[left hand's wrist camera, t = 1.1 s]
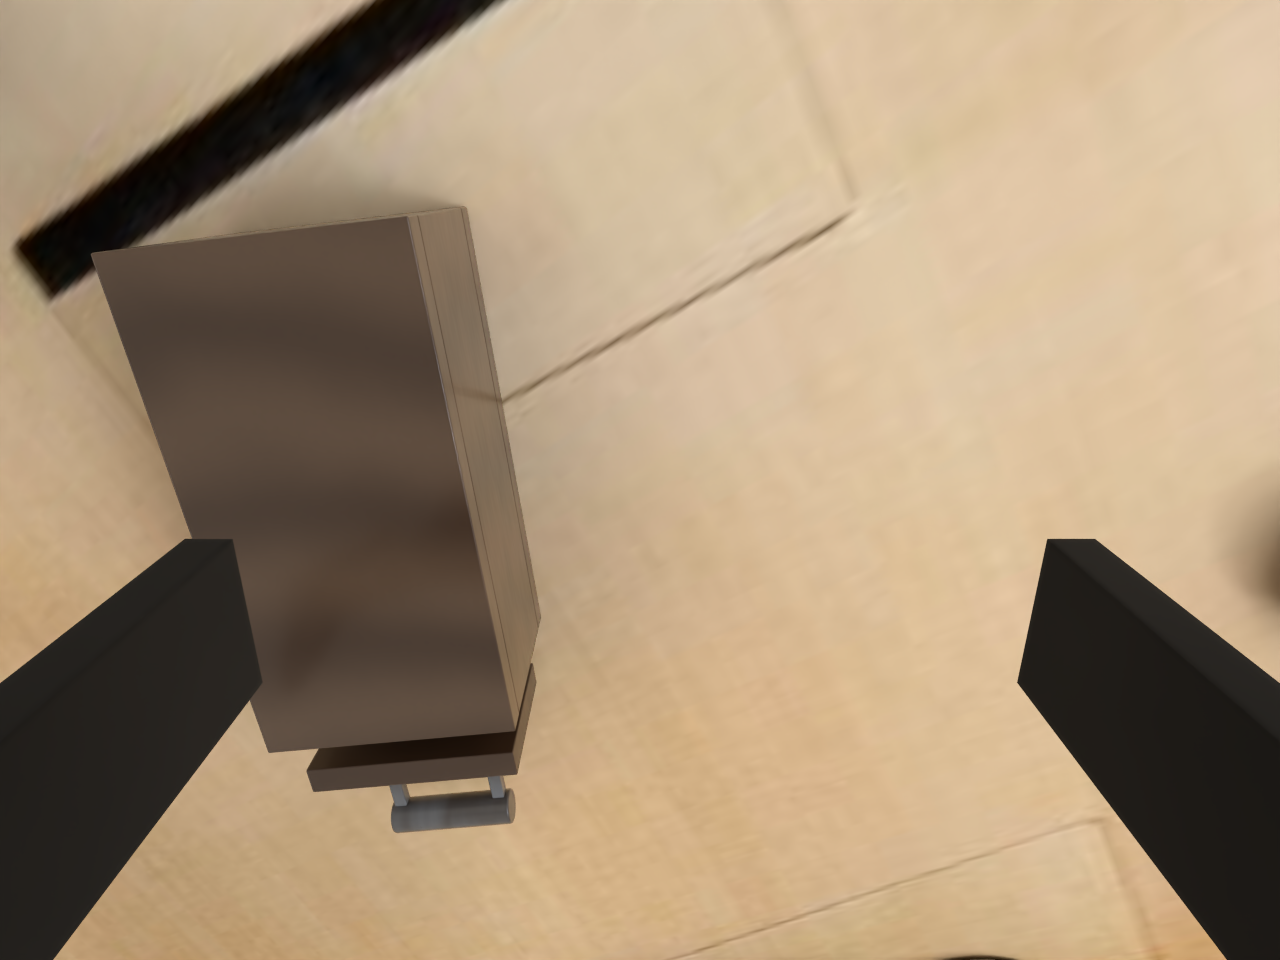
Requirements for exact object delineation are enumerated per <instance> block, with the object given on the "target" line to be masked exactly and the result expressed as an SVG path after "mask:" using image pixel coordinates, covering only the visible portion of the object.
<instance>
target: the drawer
mask: <svg viewBox="0 0 1280 960" xmlns="http://www.w3.org/2000/svg"><path fill="white" fill-rule="evenodd" d="M535 686H536V678H535V673H534V667H533V664H532V663H530V667H529V671H528V676H527V680H526V685H525V689H524V693H523V698H522V702H521V706H520V711H519V716H518V721H517V725H516V729H515V731H510V732H499V733H487V734H476V735H465V736H454V737H442V738H431V739H420V740H408V741H397V742H386V743H375V744H363V745H352V746H341V747H329V748H319V749H318V751H317V753H316V755H315V756H314V758H313V760H312V762H311V763H310V765H309V767H308V769H307V774H308V777H309V780H310V783H311V786H312V789H313V792H319V791H331V790H342V789H354V788H366V787H377V786H390V790H391V793H392V796H393V800H394V803H393V807H392V812H391V824H392V828H393V831H394V832H396V833H404V832H416V831H428V830H440V829H452V828H464V827H476V826H488V825H500V824H511V823H513V821H514V817H515V795H514V792H513V790H512V789H510V788H509V789H506V787H505V782H504V778H503V776H505V775H516V774H517V773H518V768H519V763H520V758H521V754H522V749H523V744H524V739H525V734H526V730H527V725H528V720H529V715H530V710H531V706H532V701H533V696H534V691H535ZM482 777H488V781H489V785H490V789H491V790H486V791H474V792H462V793H450V794H439V795H427V796H415V797H410V796H409V792H408V789H407V785H406V784H412V783H424V782H435V781H447V780H458V779H470V778H482Z"/></svg>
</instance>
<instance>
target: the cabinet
mask: <svg viewBox="0 0 1280 960" xmlns="http://www.w3.org/2000/svg"><path fill="white" fill-rule="evenodd" d="M91 256H92V259H93V262H94V265H95V268H96V271H97V273H98V276H99V279H100V282H101V285H102V287H103V290H104V293H105V296H106V299H107V301H108V304H109V307H110V310H111V313H112V315H113V318H114V321H115V324H116V327H117V329H118V332H119V335H120V338H121V341H122V343H123V346H124V349H125V352H126V355H127V357H128V360H129V363H130V366H131V369H132V371H133V374H134V377H135V380H136V383H137V385H138V388H139V391H140V394H141V397H142V399H143V402H144V405H145V408H146V411H147V413H148V416H149V419H150V422H151V425H152V427H153V430H154V433H155V436H156V439H157V441H158V444H159V447H160V450H161V453H162V455H163V458H164V461H165V464H166V467H167V469H168V472H169V475H170V478H171V481H172V483H173V486H174V489H175V492H176V495H177V497H178V500H179V503H180V506H181V509H182V511H183V514H184V517H185V520H186V523H187V525H188V528H189V531H190V534H191V537H192V539H233V543H234V548H235V553H236V558H237V562H238V567H239V572H240V577H241V581H242V586H243V591H244V596H245V601H246V605H247V610H248V615H249V620H250V624H251V629H252V634H253V639H254V643H255V648H256V653H257V658H258V663H259V667H260V672H261V677H262V682H263V683H262V684H261V686H260V687H259V688H258V689H257V691H256V692H255V693H254V695H253V696H252V697H251V699H250V702H251V705H252V707H253V710H254V713H255V716H256V719H257V721H258V724H259V727H260V730H261V733H262V735H263V738H264V741H265V744H266V747H267V749H268V752H269V753H273V752H284V751H296V750H307V749H318V748H329V747H341V746H352V745H363V744H375V743H386V742H397V741H408V740H420V739H431V738H442V737H454V736H465V735H476V734H487V733H499V732H510V731H515V729H516V725H517V721H518V716H519V711H520V706H521V702H522V698H523V693H524V689H525V685H526V680H527V676H528V671H529V667H530V663H531V658H532V654H533V650H534V645H535V641H536V636H537V632H538V628H539V623H540V619H541V615H540V610H539V604H538V598H537V593H536V587H535V582H534V576H533V571H532V565H531V560H530V554H529V549H528V543H527V538H526V532H525V527H524V521H523V516H522V510H521V505H520V499H519V494H518V488H517V483H516V477H515V472H514V466H513V461H512V455H511V450H510V444H509V439H508V433H507V428H506V422H505V417H504V411H503V406H502V400H501V394H500V389H499V383H498V378H497V372H496V367H495V361H494V356H493V350H492V345H491V339H490V334H489V328H488V323H487V317H486V312H485V306H484V301H483V295H482V290H481V284H480V279H479V273H478V268H477V262H476V257H475V251H474V246H473V240H472V235H471V229H470V224H469V218H468V213H467V208H466V207H456V208H448V209H440V210H431V211H423V212H414V213H406V214H397V215H389V216H380V217H372V218H363V219H355V220H346V221H338V222H329V223H321V224H312V225H304V226H295V227H287V228H278V229H270V230H261V231H253V232H244V233H236V234H227V235H220V236H213V237H205V238H198V239H191V240H184V241H176V242H169V243H162V244H155V245H147V246H140V247H133V248H125V249H118V250H111V251H103V252H96V253H92V254H91Z"/></svg>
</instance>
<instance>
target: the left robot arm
mask: <svg viewBox="0 0 1280 960" xmlns="http://www.w3.org/2000/svg"><path fill="white" fill-rule="evenodd" d="M262 683H263V682H262V677H261V672H260V667H259V663H258V658H257V653H256V648H255V643H254V639H253V634H252V629H251V624H250V620H249V615H248V610H247V605H246V601H245V596H244V591H243V586H242V581H241V577H240V572H239V567H238V562H237V558H236V553H235V548H234V543H233V539H184V540H183V541H182V542H181V543H179V544H178V545H177V546H175V547H174V548H173V549H172V550H170V551H169V552H168V553H167V554H165V555H164V556H163V557H161V558H160V559H159V560H158V561H156V562H155V563H154V564H152V565H151V566H150V567H149V568H147V569H146V570H145V571H143V572H142V573H141V574H140V575H138V576H137V577H136V578H134V579H133V580H132V581H131V582H129V583H128V584H127V585H126V586H124V587H123V588H122V589H120V590H119V591H118V592H117V593H115V594H114V595H113V596H111V597H110V598H109V599H108V600H106V601H105V602H104V603H102V604H101V605H100V606H99V607H97V608H96V609H95V610H93V611H92V612H91V613H90V614H88V615H87V616H86V617H85V618H83V619H82V620H81V621H79V622H78V623H77V624H76V625H74V626H73V627H72V628H70V629H69V630H68V631H67V632H65V633H64V634H63V635H61V636H60V637H59V638H58V639H56V640H55V641H54V642H53V643H51V644H50V645H49V646H47V647H46V648H45V649H44V650H42V651H41V652H40V653H38V654H37V655H36V656H35V657H33V658H32V659H31V660H29V661H28V662H27V663H26V664H24V665H23V666H22V667H20V668H19V669H18V670H17V671H15V672H14V673H13V674H12V675H10V676H9V677H8V678H6V679H5V680H4V681H3V682H1V683H0V960H53V959H54V958H55V957H56V955H57V954H58V953H59V951H60V950H61V949H62V947H63V946H64V945H65V943H66V942H67V941H68V939H69V938H70V937H71V935H72V934H73V933H74V931H75V930H76V929H77V927H78V926H79V925H80V923H81V922H82V921H83V920H84V918H85V917H86V916H87V914H88V913H89V912H90V910H91V909H92V908H93V906H94V905H95V904H96V902H97V901H98V900H99V898H100V897H101V896H102V894H103V893H104V892H105V890H106V889H107V888H108V886H109V885H110V884H111V882H112V881H113V880H114V879H115V877H116V876H117V875H118V873H119V872H120V871H121V869H122V868H123V867H124V865H125V864H126V863H127V861H128V860H129V859H130V857H131V856H132V855H133V853H134V852H135V851H136V849H137V848H138V847H139V845H140V844H141V843H142V842H143V840H144V839H145V838H146V836H147V835H148V834H149V832H150V831H151V830H152V828H153V827H154V826H155V824H156V823H157V822H158V820H159V819H160V818H161V816H162V815H163V814H164V812H165V811H166V810H167V808H168V807H169V806H170V804H171V803H172V802H173V801H174V799H175V798H176V797H177V795H178V794H179V793H180V791H181V790H182V789H183V787H184V786H185V785H186V783H187V782H188V781H189V779H190V778H191V777H192V775H193V774H194V773H195V771H196V770H197V769H198V767H199V766H200V765H201V764H202V762H203V761H204V760H205V758H206V757H207V756H208V754H209V753H210V752H211V750H212V749H213V748H214V746H215V745H216V744H217V742H218V741H219V740H220V738H221V737H222V736H223V734H224V733H225V732H226V730H227V729H228V728H229V726H230V725H231V724H232V723H233V721H234V720H235V719H236V717H237V716H238V715H239V713H240V712H241V711H242V709H243V708H244V707H245V705H246V704H247V703H248V701H249V700H250V699H251V697H252V696H253V695H254V693H255V692H256V691H257V689H258V688H259V687H260V686H261V684H262ZM1017 683H1018V684H1019V686H1020V687H1021V688H1022V689H1023V691H1024V692H1025V693H1026V695H1027V696H1028V697H1029V699H1030V700H1031V701H1032V703H1033V704H1034V705H1035V707H1036V708H1037V709H1038V711H1039V712H1040V713H1041V715H1042V716H1043V717H1044V719H1045V720H1046V721H1047V723H1048V724H1049V725H1050V726H1051V728H1052V729H1053V730H1054V732H1055V733H1056V734H1057V736H1058V737H1059V738H1060V740H1061V741H1062V742H1063V744H1064V745H1065V746H1066V748H1067V749H1068V750H1069V752H1070V753H1071V754H1072V756H1073V757H1074V758H1075V760H1076V761H1077V762H1078V764H1079V765H1080V766H1081V767H1082V769H1083V770H1084V771H1085V773H1086V774H1087V775H1088V777H1089V778H1090V779H1091V781H1092V782H1093V783H1094V785H1095V786H1096V787H1097V789H1098V790H1099V791H1100V793H1101V794H1102V795H1103V797H1104V798H1105V799H1106V801H1107V802H1108V803H1109V804H1110V806H1111V807H1112V808H1113V810H1114V811H1115V812H1116V814H1117V815H1118V816H1119V818H1120V819H1121V820H1122V822H1123V823H1124V824H1125V826H1126V827H1127V828H1128V830H1129V831H1130V832H1131V834H1132V835H1133V836H1134V838H1135V839H1136V840H1137V842H1138V843H1139V844H1140V845H1141V847H1142V848H1143V849H1144V851H1145V852H1146V853H1147V855H1148V856H1149V857H1150V859H1151V860H1152V861H1153V863H1154V864H1155V865H1156V867H1157V868H1158V869H1159V871H1160V872H1161V873H1162V875H1163V876H1164V877H1165V879H1166V880H1167V881H1168V882H1169V884H1170V885H1171V886H1172V888H1173V889H1174V890H1175V892H1176V893H1177V894H1178V896H1179V897H1180V898H1181V900H1182V901H1183V902H1184V904H1185V905H1186V906H1187V908H1188V909H1189V910H1190V912H1191V913H1192V914H1193V916H1194V917H1195V918H1196V920H1197V921H1198V922H1199V923H1200V925H1201V926H1202V927H1203V929H1204V930H1205V931H1206V933H1207V934H1208V935H1209V937H1210V938H1211V939H1212V941H1213V942H1214V943H1215V945H1216V946H1217V947H1218V949H1219V950H1220V951H1221V953H1222V954H1223V955H1224V957H1225V958H1226V959H1227V960H1280V683H1279V682H1277V681H1276V680H1275V679H1274V678H1272V677H1271V676H1270V675H1268V674H1267V673H1266V672H1265V671H1263V670H1262V669H1261V668H1260V667H1258V666H1257V665H1256V664H1254V663H1253V662H1252V661H1251V660H1249V659H1248V658H1247V657H1245V656H1244V655H1243V654H1242V653H1240V652H1239V651H1238V650H1236V649H1235V648H1234V647H1233V646H1231V645H1230V644H1229V643H1227V642H1226V641H1225V640H1224V639H1222V638H1221V637H1220V636H1219V635H1217V634H1216V633H1215V632H1213V631H1212V630H1211V629H1210V628H1208V627H1207V626H1206V625H1204V624H1203V623H1202V622H1201V621H1199V620H1198V619H1197V618H1195V617H1194V616H1193V615H1192V614H1190V613H1189V612H1188V611H1187V610H1185V609H1184V608H1183V607H1181V606H1180V605H1179V604H1178V603H1176V602H1175V601H1174V600H1172V599H1171V598H1170V597H1169V596H1167V595H1166V594H1165V593H1163V592H1162V591H1161V590H1160V589H1158V588H1157V587H1156V586H1154V585H1153V584H1152V583H1151V582H1149V581H1148V580H1147V579H1146V578H1144V577H1143V576H1142V575H1140V574H1139V573H1138V572H1137V571H1135V570H1134V569H1133V568H1131V567H1130V566H1129V565H1128V564H1126V563H1125V562H1124V561H1122V560H1121V559H1120V558H1119V557H1117V556H1116V555H1115V554H1113V553H1112V552H1111V551H1110V550H1108V549H1107V548H1106V547H1105V546H1103V545H1102V544H1101V543H1099V542H1098V541H1097V540H1096V539H1047V543H1046V548H1045V553H1044V558H1043V562H1042V567H1041V572H1040V577H1039V581H1038V586H1037V591H1036V596H1035V601H1034V605H1033V610H1032V615H1031V620H1030V624H1029V629H1028V634H1027V639H1026V643H1025V648H1024V653H1023V658H1022V663H1021V667H1020V672H1019V677H1018V682H1017Z"/></svg>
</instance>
